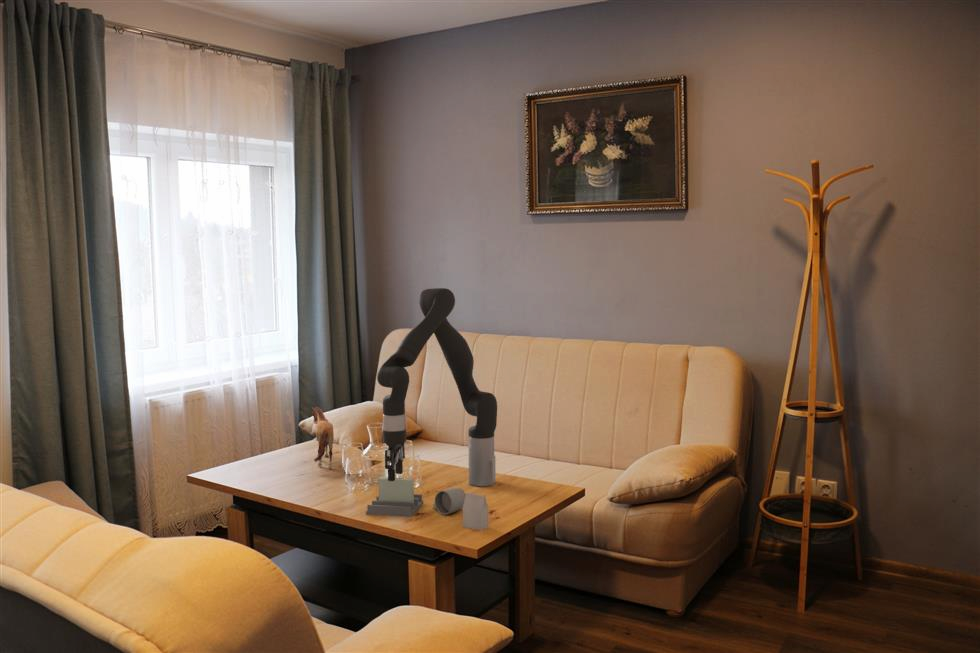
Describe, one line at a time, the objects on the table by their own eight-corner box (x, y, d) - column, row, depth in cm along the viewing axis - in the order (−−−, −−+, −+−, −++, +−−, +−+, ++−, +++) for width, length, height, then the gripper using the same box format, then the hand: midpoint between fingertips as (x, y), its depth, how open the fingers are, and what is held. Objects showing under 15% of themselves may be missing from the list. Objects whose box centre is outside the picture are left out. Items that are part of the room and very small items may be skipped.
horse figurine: (312, 455, 340) (311, 405, 338) (332, 453, 341) (331, 404, 340) (314, 474, 310) (313, 420, 308) (335, 473, 311) (334, 419, 310)
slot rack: (423, 503, 273) (423, 494, 273) (411, 516, 259) (411, 507, 259) (379, 501, 276) (379, 492, 276) (365, 514, 262) (365, 505, 262)
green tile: (413, 505, 268) (413, 478, 267) (411, 507, 265) (411, 480, 264) (381, 503, 270) (380, 476, 269) (378, 506, 267) (378, 478, 266)
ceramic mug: (468, 510, 265) (468, 487, 265) (452, 517, 259) (451, 492, 258) (443, 505, 272) (443, 482, 271) (427, 511, 266) (426, 487, 265)
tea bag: (481, 530, 246) (481, 497, 246) (462, 526, 250) (462, 494, 249) (488, 527, 249) (488, 494, 249) (469, 523, 253) (469, 491, 252)
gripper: (399, 433, 258) (400, 483, 259) (411, 423, 271) (412, 471, 273) (376, 432, 259) (377, 483, 260) (389, 422, 273) (390, 470, 274)
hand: (395, 477), depth 267 cm, fingers open, 8 cm apart
